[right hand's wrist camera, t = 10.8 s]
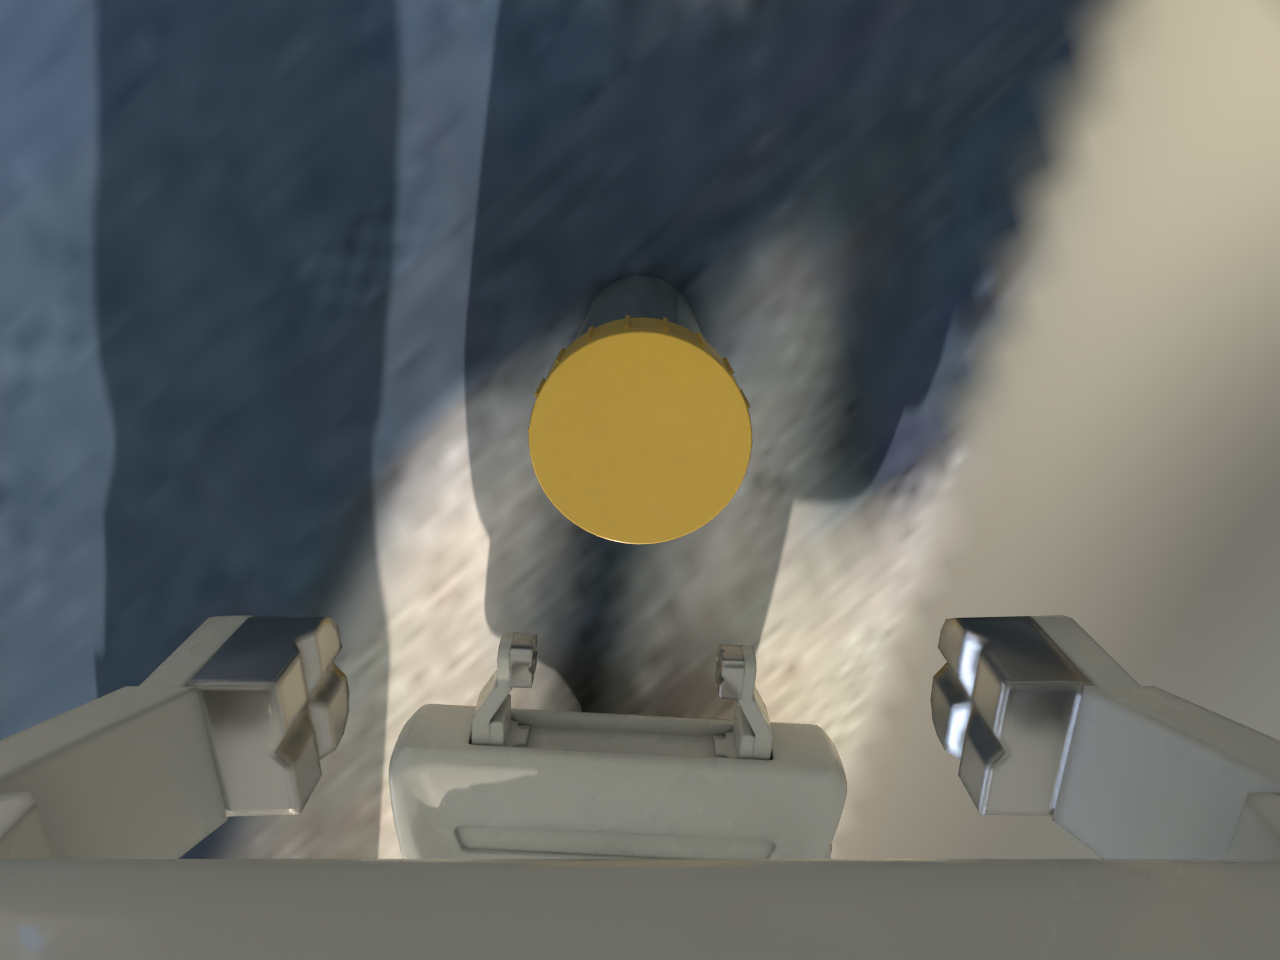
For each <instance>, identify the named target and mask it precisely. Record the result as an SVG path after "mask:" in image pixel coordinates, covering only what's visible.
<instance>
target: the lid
mask: <svg viewBox="0 0 1280 960" xmlns="http://www.w3.org/2000/svg"><path fill="white" fill-rule="evenodd" d="M733 373H734V371H733V369H732V367H731V365H730V363H729V361H728V360H727V358H726V357H724V358H722V357H721V356H720V354H719V353H718V352H717V351H716V349H715V348H713V347H712V346H711V345H710V344H709V343H708V342H707V341H706V340H705V339H704V338H703V336H702V334H701V333H700V332H698V333H697V334H696V333H695V332H693V331H691V330H689V329H687V328H685V327H683V326H681V325H678V324H675V323H672V322H669V321H668V319H667V318H665V317H663V320H660V319H656V318H643V317H640V318H630V316H629V315H627V316H625V319H621V320H615V321H612V322H609V323H606V324H603V325H600V326H598V327H596V328H594V327H593V326H591V327H589V330H588V332H586V333H585V334H583V335H582V336H580V337H579V338H577V339H576V340H575V341H574V342H573V343H572V344H571V345H569V346H568V347H567V348H566V349H564V348H562V349H561V350H560V352H559V354H558V356H557V358H556V360H555V362H554V365H553V366H552V368H551V370H550V372H549V374H548V376H547V378H546V379H544V378H543V379H542V381H541V383H540V385H539V387H538V389H537V391H536V393H535V395H534V396H536V397H537V398H536V401H535V404H534V407H533V410H532V413H531V419H530V425H529V428H528V433H529V449H530V456H531V460H532V464H533V469H534V471H535V474H536V476H537V479H538V481H539V483H540V485H541V487H542V488H543V490H544V492H545V494H546V495H547V496H548V498H549V499H550V500H551V502H552V503H553V504H554V506H555V507H556V508H557V509H558V510H559V511H560V512H561V513H562V514H563V515H564V516H566V517H567V518H568V519H569V520H571V521H572V522H573V523H574V524H576V525H578V526H579V527H581V528H583V529H584V530H586V531H588V532H590V533H592V534H594V535H597V536H599V537H602V538H605V539H608V540H611V541H617V542H622V543H630V544H652V543H659V542H665V541H669V540H672V539H676V538H679V537H682V536H684V535H686V534H689V533H691V532H693V531H695V530H696V529H698V528H700V527H702V526H703V525H705V524H706V523H707V522H709V521H710V520H711V519H713V518H714V517H715V516H716V515H717V514H718V513H719V512H720V511H721V510H722V509H723V508H725V506H726V505H727V504H728V503H729V501H730V500H731V499H732V498H733V496H734V495H735V493H736V491H737V490H738V488H739V486H740V485H741V483H742V480H743V478H744V476H745V473H746V471H747V467H748V463H749V460H750V455H751V447H752V427H751V420H750V415H749V411H748V408H750V406H749V403H748V401H747V399H746V397H745V395H744V393H743V391H742V389H740V388H739V386H738V384H737V382H736V380H735V378H734V376H733Z"/></svg>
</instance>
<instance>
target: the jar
mask: <svg viewBox="0 0 1280 960" xmlns="http://www.w3.org/2000/svg"><path fill="white" fill-rule="evenodd" d="M627 315H629V316H630V318H640V317H643V318H656V319H660V320H663V317H665V318H667V319H668V321H669V322H672V323H675V324H678V325H681V326H683V327H685V328H687V329H689V330H691V331H693V332H695V333H696V334H697V333H698V332H700V333H701V334H702V332H701V330H700V327H699V325H698V323H697V321H696V318H695V316H694V314H693V311H692V309H691V307H690V305H689V303H688V302H687V300H686V298H685V297H684V296H683V295H682V294H681V292H679V291H678V290H677V289H676V288H675V287H674V286H672V285H671V284H669V283H667V282H666V281H664V280H661V279H659V278H656V277H651V276H644V275H637V276H629V277H625V278H622V279H619V280H617V281H615V282H613V283H611V284H610V285H608V286H607V287H605V288H604V289H603V290H602V291H601V292H600V293H599V294H598V295H597V296H596V298H595V299H594V301H593V302H592V304H591V306H590V308H589V310H588V312H587V314H586V317H585V319H584V321H583V324H582V326H581V328H580V331H579V333H578V335H577V338H579V337H580V336H582V335H583V334H585V333H586V332H588V330H589V327H591V326H593V327H594V328H596V327H598V326H600V325H603V324H606V323H609V322H612V321H615V320H621V319H625V316H627ZM702 336H703V334H702ZM577 338H576V339H577ZM703 338H704V337H703Z"/></svg>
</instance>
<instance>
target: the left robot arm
mask: <svg viewBox="0 0 1280 960" xmlns="http://www.w3.org/2000/svg"><path fill="white" fill-rule="evenodd" d="M536 646H537V634H527V633H510V632H503V635H502V638H501V641H500V645H499V650H498V658H497V670H496V671H495V672H494V674H493V675H492V677H491V678H490V679H489V681H488V682H487V684H486V685H485V686H484V688H483V689H482V690H481V692H480V695H479V699H478V702H477V705H476V706H459V705H442V704H426V705H423V706H422V707H420V708H419V709H418V710H417V711H416V712H415V713H414V714H413V715H412V716H411V717H410V719H409V720H408V721H407V722H406V724H405V725H404V727H403V729H402V731H401V733H400V735H399V737H398V740H397V742H396V744H395V747H394V750H393V753H392V756H391V760H390V766H389V785H390V796H391V804H392V811H393V818H394V823H395V828H396V833H397V838H398V842H399V846H400V850H401V854H402V857H403V859H830V858H831V851H832V840H833V837H834V835H835V832H836V829H837V826H838V823H839V820H840V817H841V814H842V810H843V807H844V803H845V799H846V794H847V781H846V776H845V772H844V768H843V765H842V762H841V759H840V756H839V754H838V751H837V749H836V747H835V745H834V744H833V742H832V741H831V739H830V738H829V737H828V736H827V734H826V733H825V732H824V731H823V729H822V728H821V727H819V726H817V725H812V724H796V723H777V722H770V721H769V717H768V713H767V709H766V706H765V704H764V702H763V700H762V698H761V696H760V694H759V693H758V691H757V689H756V687H755V677H756V658H755V654H754V650H753V646H737V645H719V647H718V659H719V660H718V661H717V663H716V672H715V676H716V683H717V684H718V688H717V689H718V695H719V698H725V699H737V701H738V703H739V704H740V706H738V707H736V712H735V719H734V720H720V719H702V718H682V717H664V716H646V715H627V714H608V713H589V712H570V711H551V710H533V709H514V708H511V695H510V694H509V692H510V691H511V689H512V688H513V687H518V688H531V687H532V683H533V678H534V673H535V669H536V665H537V651H536Z"/></svg>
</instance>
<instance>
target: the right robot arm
mask: <svg viewBox="0 0 1280 960" xmlns="http://www.w3.org/2000/svg"><path fill="white" fill-rule="evenodd" d="M341 648H342V644H341V639H340V634H339V629H338V625H337V624H336V622H335V621H334V620H333V619H332V618H331V617H284V616H255V617H254V616H252V615H241V616H216V617H210V618H208V619H207V620H206V621H205V622H204V623H203V624H202V625H201V626H200V627H199V628H198V629H197V630H196V631H195V632H194V633H193V634H192V635H191V636H190V637H189V638H188V639H186V640H185V641H184V642H183V643H182V644H181V645H180V646H179V647H178V648H177V649H176V650H175V651H174V652H173V653H172V654H171V655H170V656H169V657H168V658H167V659H166V660H165V661H164V662H163V663H162V664H161V665H160V666H159V667H158V668H157V669H156V670H155V671H154V672H153V673H152V674H151V675H150V676H149V677H148V678H147V679H146V680H145V681H144V682H143V683H141V684H140V685H139V686H125V687H123V688H121V689H118V690H116V691H114V692H111V693H109V694H107V695H104V696H102V697H100V698H97V699H95V700H93V701H90V702H88V703H86V704H84V705H81V706H79V707H77V708H74V709H72V710H70V711H67V712H65V713H63V714H60V715H58V716H56V717H53V718H51V719H49V720H47V721H44V722H42V723H40V724H37V725H35V726H33V727H30V728H28V729H26V730H23V731H21V732H19V733H16V734H14V735H12V736H9V737H7V738H5V739H3V740H0V960H1280V741H1279V740H1277V739H1275V738H1273V737H1270V736H1268V735H1266V734H1263V733H1261V732H1259V731H1256V730H1254V729H1252V728H1249V727H1247V726H1245V725H1242V724H1240V723H1238V722H1236V721H1233V720H1231V719H1229V718H1226V717H1224V716H1222V715H1219V714H1217V713H1215V712H1212V711H1210V710H1208V709H1206V708H1203V707H1201V706H1199V705H1196V704H1194V703H1192V702H1189V701H1187V700H1185V699H1183V698H1180V697H1178V696H1176V695H1173V694H1171V693H1169V692H1166V691H1164V690H1162V689H1159V688H1157V687H1155V686H1141V685H1140V684H1139V683H1138V682H1137V681H1135V680H1134V679H1133V678H1132V677H1131V676H1130V675H1129V674H1128V673H1127V672H1126V671H1125V670H1124V669H1123V668H1122V667H1121V666H1120V665H1119V664H1118V663H1117V662H1116V661H1115V660H1114V659H1113V658H1112V657H1111V656H1110V655H1109V654H1108V653H1107V652H1106V651H1105V650H1104V649H1103V648H1102V647H1101V646H1100V645H1099V644H1098V643H1097V642H1096V641H1095V640H1094V639H1093V638H1092V637H1091V636H1090V635H1089V634H1088V633H1087V632H1085V630H1083V629H1082V628H1081V627H1080V626H1079V625H1078V624H1077V623H1076V622H1075V621H1074V620H1073V619H1072V618H1069V617H1066V616H1063V615H1051V616H1017V617H976V618H951V619H946V620H945V622H944V624H943V627H942V629H941V632H940V638H939V644H938V648H939V650H940V651H941V653H942V655H943V656H944V658H945V659H946V661H947V663H946V664H945V665H944V666H943V667H942V668H941V669H940V670H939V671H938V672H937V673H936V674H935V675H934V677H933V683H932V692H931V708H932V719H933V723H934V726H935V730H936V733H937V736H938V738H939V740H940V742H941V744H942V746H943V748H944V749H945V750H946V751H948V752H949V753H951V754H952V755H954V756H955V757H957V758H958V759H960V760H961V761H960V767H959V773H958V775H959V777H960V779H961V781H962V782H963V784H964V786H965V788H966V790H967V791H968V793H969V795H970V797H971V799H972V801H973V802H974V804H975V806H976V808H977V810H978V811H979V813H980V815H1015V816H1051V817H1053V818H1052V820H1053V821H1054V822H1056V823H1057V824H1058V825H1060V826H1061V827H1062V828H1063V829H1065V830H1066V831H1067V832H1069V833H1070V834H1071V835H1072V836H1074V837H1075V838H1076V839H1078V840H1079V841H1080V842H1082V843H1083V844H1084V845H1085V846H1087V847H1088V848H1089V849H1090V850H1092V851H1093V852H1094V853H1096V854H1097V855H1098V856H1100V857H1101V858H1102V859H178V858H180V857H181V856H182V855H183V854H185V853H186V852H187V851H189V850H190V849H191V848H192V847H194V846H195V845H196V844H198V843H199V842H200V841H201V840H203V839H204V838H205V837H207V836H208V835H209V834H210V833H212V832H213V831H214V830H216V829H217V828H218V827H219V826H221V825H222V824H223V823H225V822H226V821H227V817H229V816H264V815H299V814H300V813H301V811H302V810H303V808H304V806H305V804H306V802H307V801H308V799H309V797H310V795H311V793H312V792H313V790H314V788H315V786H316V784H317V783H318V781H319V779H320V777H321V775H322V773H321V767H320V761H319V760H320V759H322V758H323V757H325V756H326V755H328V754H329V753H331V752H332V751H334V750H336V748H337V746H338V744H339V742H340V740H341V738H342V736H343V734H344V730H345V726H346V721H347V717H348V713H349V689H348V682H347V677H346V675H345V674H344V673H343V672H342V671H341V670H340V669H339V668H338V667H337V666H336V665H335V664H334V663H333V661H334V659H335V658H336V656H337V655H338V653H339V651H340V650H341Z"/></svg>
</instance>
